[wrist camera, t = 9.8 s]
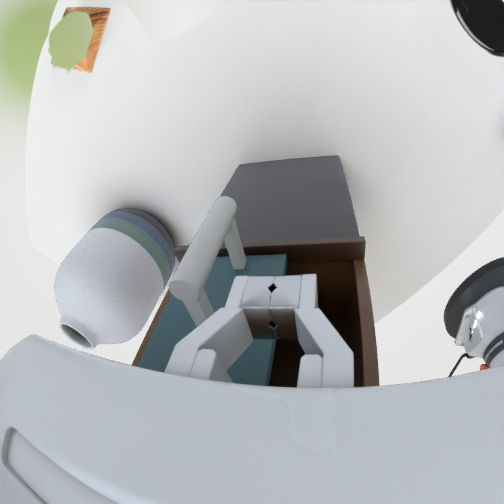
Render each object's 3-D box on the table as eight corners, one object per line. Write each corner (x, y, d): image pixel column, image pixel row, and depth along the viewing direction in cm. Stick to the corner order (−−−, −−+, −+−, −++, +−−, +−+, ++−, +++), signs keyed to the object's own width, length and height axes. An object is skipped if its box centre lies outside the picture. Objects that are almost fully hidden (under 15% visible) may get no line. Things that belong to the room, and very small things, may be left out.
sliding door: (287, 262, 19) (259, 436, 10) (193, 265, 21) (129, 408, 12) (274, 186, 16) (221, 386, 7) (167, 199, 18) (60, 348, 9)
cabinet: (342, 217, 41) (351, 479, 14) (252, 223, 44) (178, 459, 18) (337, 144, 34) (388, 459, 7) (236, 154, 37) (89, 410, 11)
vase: (115, 182, 44) (24, 275, 25) (196, 229, 47) (132, 348, 29) (103, 243, 54) (40, 328, 36) (168, 282, 58) (120, 379, 39)
